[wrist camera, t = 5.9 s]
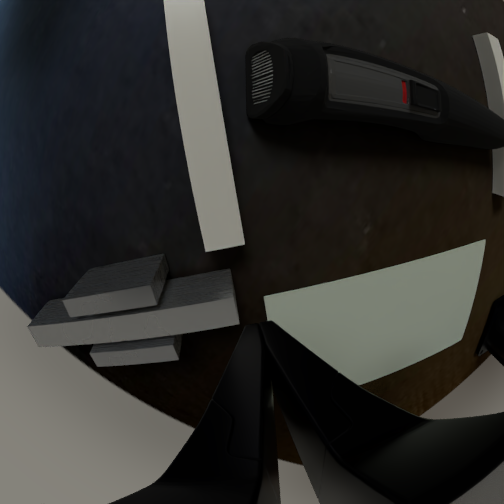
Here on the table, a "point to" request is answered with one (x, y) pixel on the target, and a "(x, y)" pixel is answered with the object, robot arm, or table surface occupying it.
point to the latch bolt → (145, 314)
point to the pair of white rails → (213, 130)
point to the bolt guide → (124, 308)
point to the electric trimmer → (361, 93)
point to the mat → (384, 313)
